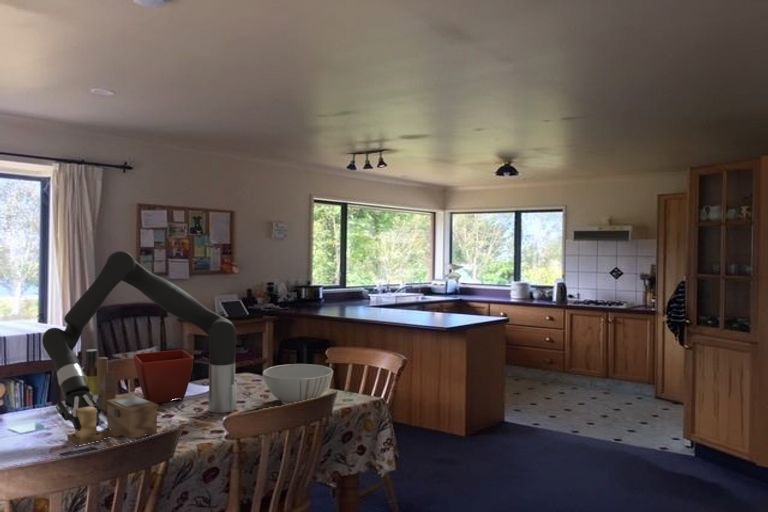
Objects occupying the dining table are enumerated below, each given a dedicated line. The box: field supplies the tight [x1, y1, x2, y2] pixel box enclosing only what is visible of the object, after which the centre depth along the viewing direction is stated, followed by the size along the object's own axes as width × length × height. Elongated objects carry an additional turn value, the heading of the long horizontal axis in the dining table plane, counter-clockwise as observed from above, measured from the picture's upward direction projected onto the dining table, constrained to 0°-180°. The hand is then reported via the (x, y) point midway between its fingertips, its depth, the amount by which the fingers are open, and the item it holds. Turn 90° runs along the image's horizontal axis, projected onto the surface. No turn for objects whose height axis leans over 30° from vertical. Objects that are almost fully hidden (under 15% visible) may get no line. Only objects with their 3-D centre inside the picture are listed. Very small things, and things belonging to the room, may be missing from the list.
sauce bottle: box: [82, 348, 98, 404], centre depth 233 cm, size 6×6×20 cm
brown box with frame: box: [66, 394, 159, 447], centre depth 195 cm, size 23×17×10 cm
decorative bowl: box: [262, 363, 334, 405], centre depth 236 cm, size 27×27×12 cm
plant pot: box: [133, 349, 194, 404], centre depth 239 cm, size 19×19×17 cm
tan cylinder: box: [74, 406, 98, 439], centre depth 189 cm, size 5×5×10 cm
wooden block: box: [97, 356, 116, 413], centre depth 225 cm, size 4×11×18 cm, turn 42°
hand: (88, 427), depth 188 cm, fingers closed on tan cylinder, 4 cm apart
